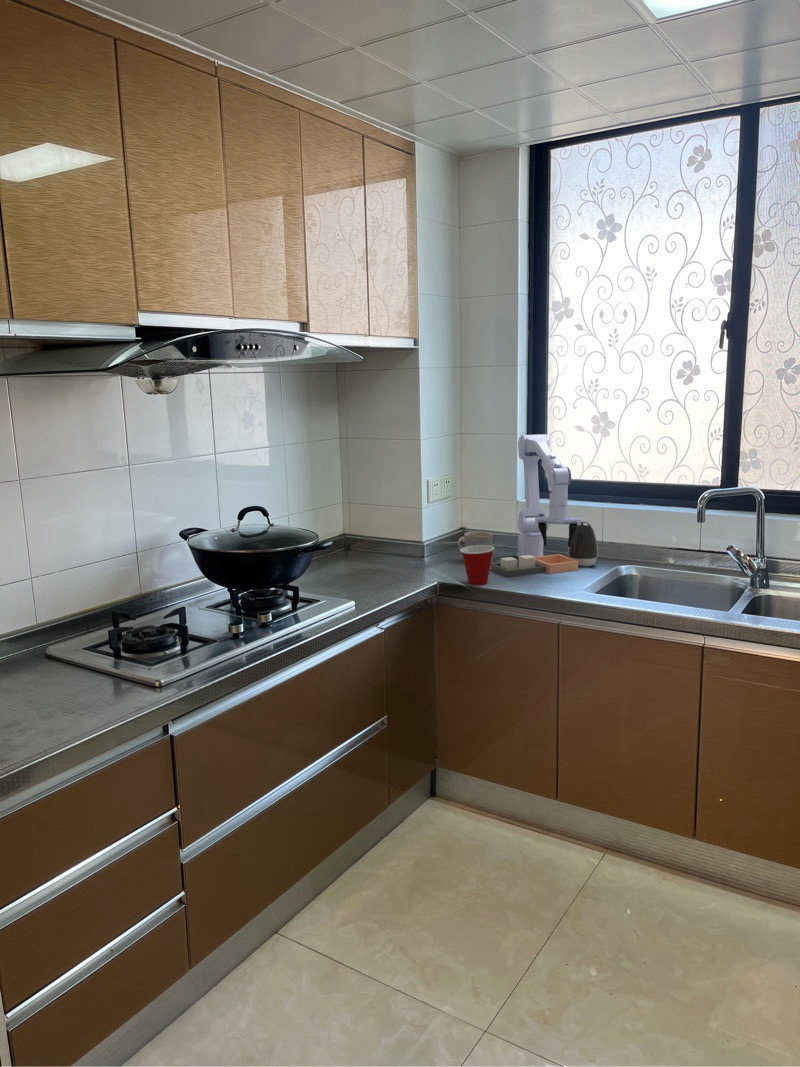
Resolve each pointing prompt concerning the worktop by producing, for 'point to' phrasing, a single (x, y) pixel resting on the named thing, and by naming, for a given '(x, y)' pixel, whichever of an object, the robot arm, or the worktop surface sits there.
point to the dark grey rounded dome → (583, 545)
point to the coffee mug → (476, 539)
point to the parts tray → (518, 570)
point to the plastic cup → (477, 563)
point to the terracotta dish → (557, 563)
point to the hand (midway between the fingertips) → (557, 545)
